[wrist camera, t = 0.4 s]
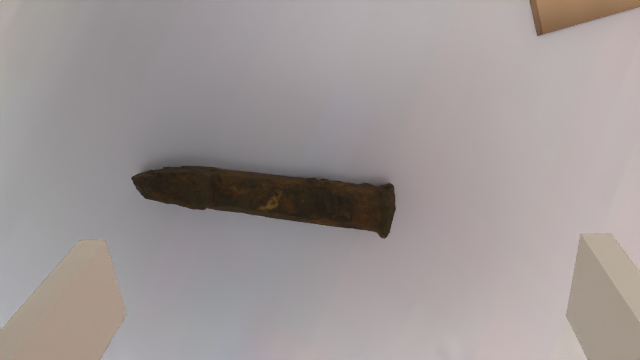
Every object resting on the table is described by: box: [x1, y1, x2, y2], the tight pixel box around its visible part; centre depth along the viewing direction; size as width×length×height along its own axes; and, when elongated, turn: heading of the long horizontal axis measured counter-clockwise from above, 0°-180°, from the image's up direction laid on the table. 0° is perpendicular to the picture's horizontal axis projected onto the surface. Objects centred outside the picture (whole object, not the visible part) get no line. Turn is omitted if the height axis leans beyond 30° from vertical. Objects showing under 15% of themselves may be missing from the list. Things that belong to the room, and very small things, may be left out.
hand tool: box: [132, 166, 396, 238], centre depth 38 cm, size 19×4×5 cm, turn 80°
